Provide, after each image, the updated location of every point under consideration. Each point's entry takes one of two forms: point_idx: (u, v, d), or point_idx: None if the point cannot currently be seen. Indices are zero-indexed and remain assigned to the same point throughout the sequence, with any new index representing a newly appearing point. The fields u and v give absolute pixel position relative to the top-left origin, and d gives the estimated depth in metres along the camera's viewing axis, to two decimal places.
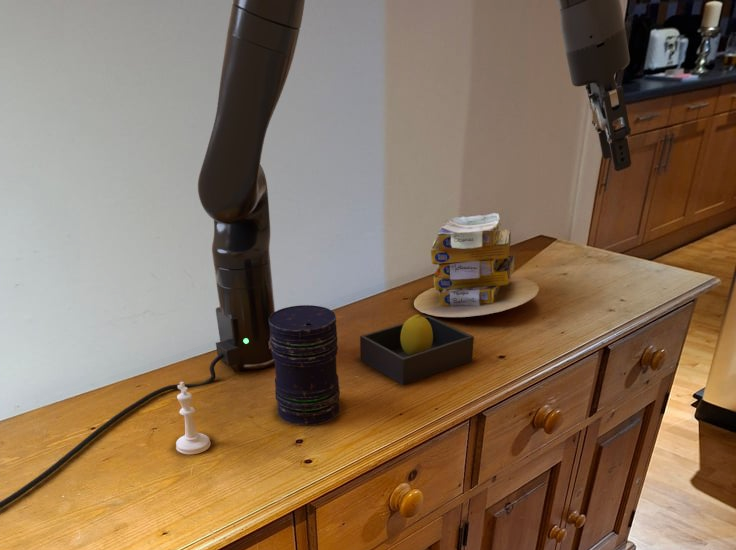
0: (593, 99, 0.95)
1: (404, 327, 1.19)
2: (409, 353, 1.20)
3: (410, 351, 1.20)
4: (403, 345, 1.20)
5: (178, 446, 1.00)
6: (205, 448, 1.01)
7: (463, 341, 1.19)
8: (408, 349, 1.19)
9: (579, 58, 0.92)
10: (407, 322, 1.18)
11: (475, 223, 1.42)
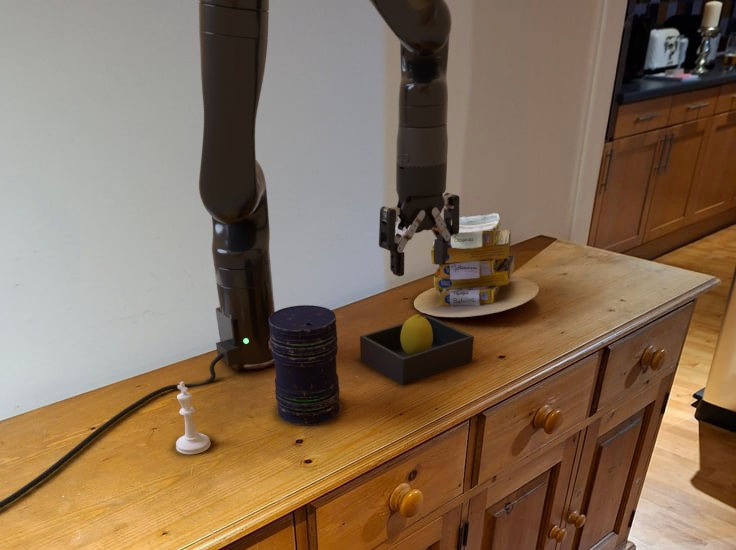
0: None
1: (404, 327, 1.19)
2: (409, 353, 1.20)
3: (410, 351, 1.20)
4: (403, 345, 1.20)
5: (178, 446, 1.00)
6: (205, 448, 1.01)
7: (463, 341, 1.19)
8: (408, 349, 1.19)
9: None
10: (407, 322, 1.18)
11: (475, 223, 1.42)
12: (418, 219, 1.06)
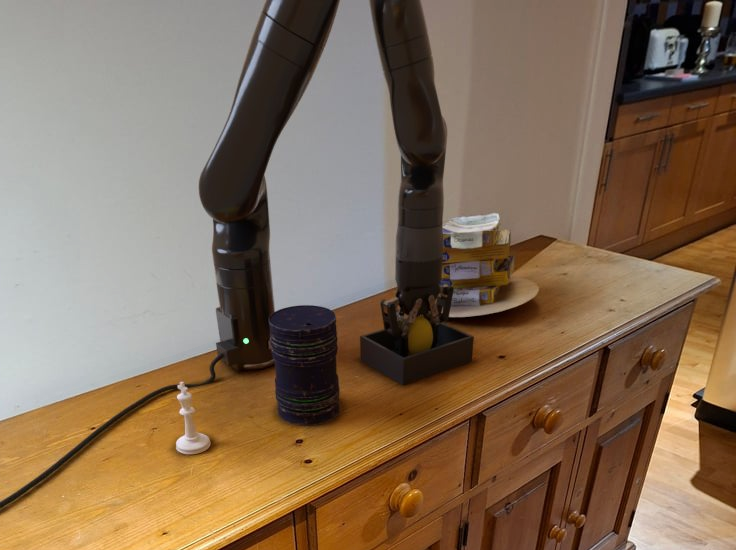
0: None
1: None
2: (409, 353, 1.20)
3: (410, 351, 1.20)
4: None
5: (178, 446, 1.00)
6: (205, 448, 1.01)
7: (463, 341, 1.19)
8: (408, 349, 1.19)
9: None
10: None
11: (475, 223, 1.42)
12: (416, 307, 1.15)
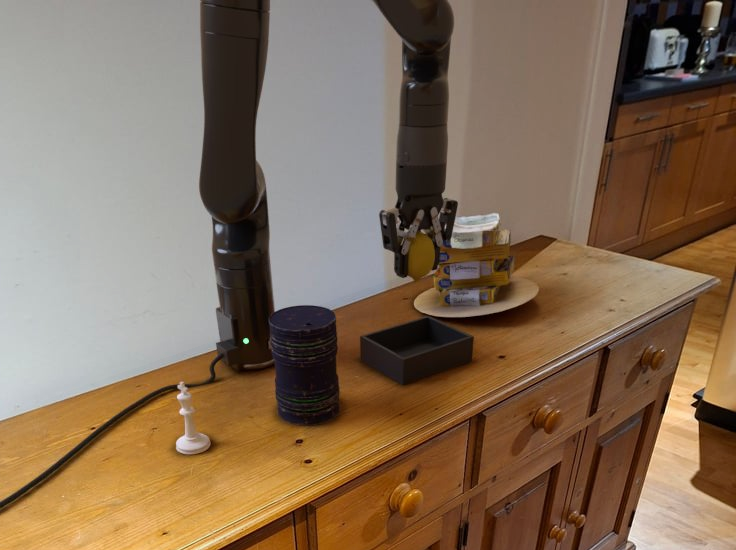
0: None
1: None
2: (409, 273, 1.12)
3: (411, 271, 1.12)
4: None
5: (178, 446, 1.00)
6: (205, 448, 1.01)
7: (463, 341, 1.19)
8: (409, 268, 1.11)
9: None
10: None
11: (475, 223, 1.42)
12: (418, 219, 1.07)
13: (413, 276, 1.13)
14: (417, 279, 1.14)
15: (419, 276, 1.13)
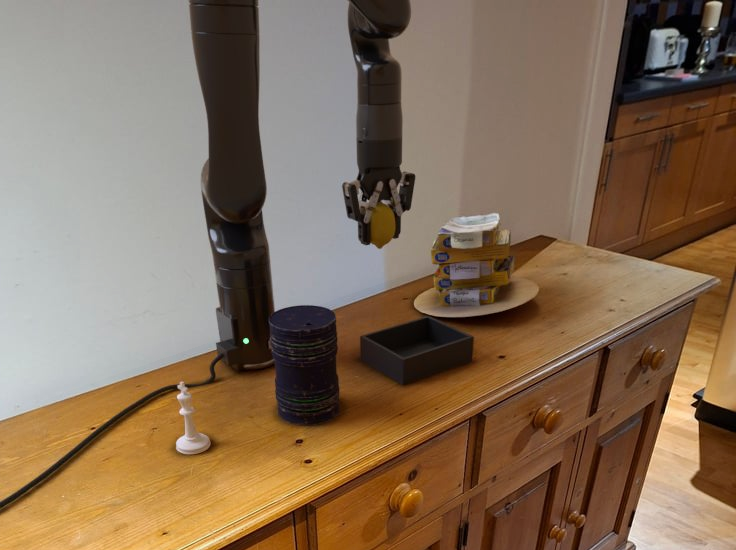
0: None
1: None
2: (372, 241, 1.23)
3: (373, 239, 1.22)
4: None
5: (178, 446, 1.00)
6: (205, 448, 1.01)
7: (463, 341, 1.19)
8: (371, 235, 1.22)
9: None
10: None
11: (475, 223, 1.42)
12: (377, 190, 1.17)
13: (376, 243, 1.23)
14: (380, 246, 1.25)
15: (381, 243, 1.23)
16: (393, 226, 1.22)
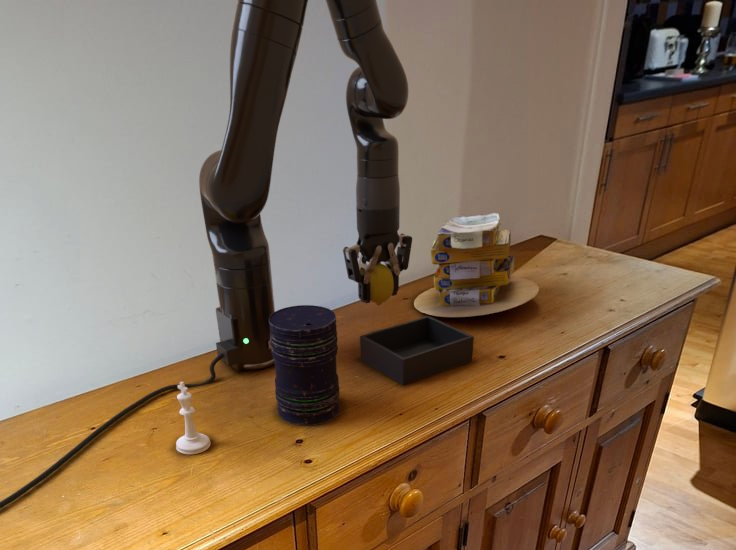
0: None
1: None
2: (372, 299, 1.30)
3: (373, 297, 1.29)
4: None
5: (178, 446, 1.00)
6: (205, 448, 1.01)
7: (463, 341, 1.19)
8: (371, 294, 1.29)
9: None
10: None
11: (475, 223, 1.42)
12: (376, 253, 1.24)
13: (375, 301, 1.30)
14: (379, 303, 1.32)
15: (380, 301, 1.30)
16: (391, 285, 1.29)
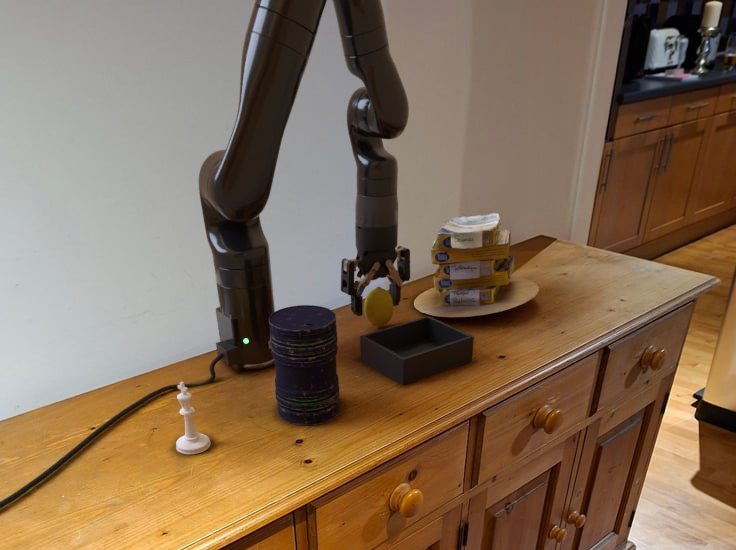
0: None
1: (367, 298, 1.31)
2: (372, 322, 1.33)
3: (373, 320, 1.32)
4: (366, 315, 1.32)
5: (178, 446, 1.00)
6: (205, 448, 1.01)
7: (463, 341, 1.19)
8: (371, 318, 1.32)
9: None
10: (369, 293, 1.31)
11: (475, 223, 1.42)
12: (374, 269, 1.26)
13: (375, 324, 1.33)
14: (379, 326, 1.34)
15: (380, 324, 1.33)
16: (391, 309, 1.32)
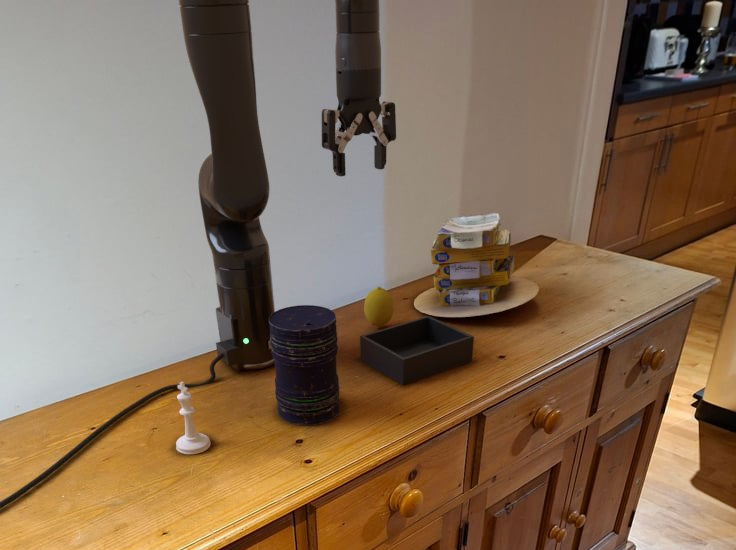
0: None
1: (367, 298, 1.31)
2: (372, 322, 1.33)
3: (373, 320, 1.32)
4: (366, 315, 1.32)
5: (178, 446, 1.00)
6: (205, 448, 1.01)
7: (463, 341, 1.19)
8: (371, 318, 1.32)
9: None
10: (369, 293, 1.31)
11: (475, 223, 1.42)
12: (356, 121, 1.19)
13: (375, 324, 1.33)
14: (379, 326, 1.34)
15: (380, 324, 1.33)
16: (391, 309, 1.32)
